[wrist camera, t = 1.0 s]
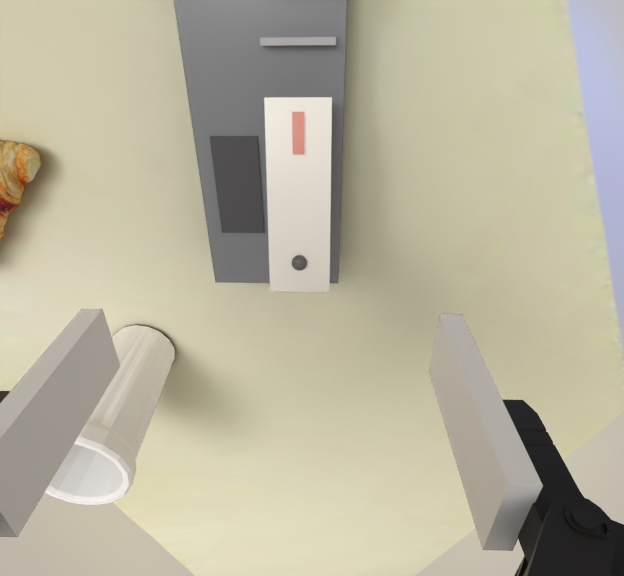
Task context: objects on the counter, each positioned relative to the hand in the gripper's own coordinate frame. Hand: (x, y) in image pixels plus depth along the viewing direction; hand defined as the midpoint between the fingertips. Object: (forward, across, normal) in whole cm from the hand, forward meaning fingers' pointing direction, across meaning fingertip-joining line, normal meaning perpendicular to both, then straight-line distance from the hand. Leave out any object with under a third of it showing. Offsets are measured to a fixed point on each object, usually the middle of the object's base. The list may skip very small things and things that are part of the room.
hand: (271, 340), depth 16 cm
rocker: (+15, 0, 0) cm, 15 cm away
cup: (+21, -16, -18) cm, 32 cm away
